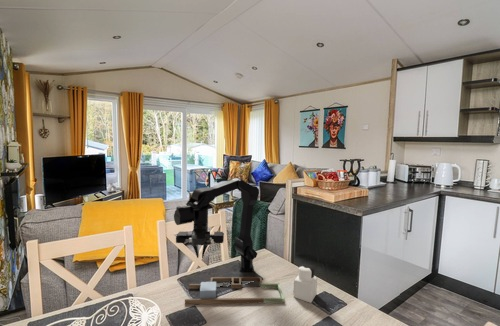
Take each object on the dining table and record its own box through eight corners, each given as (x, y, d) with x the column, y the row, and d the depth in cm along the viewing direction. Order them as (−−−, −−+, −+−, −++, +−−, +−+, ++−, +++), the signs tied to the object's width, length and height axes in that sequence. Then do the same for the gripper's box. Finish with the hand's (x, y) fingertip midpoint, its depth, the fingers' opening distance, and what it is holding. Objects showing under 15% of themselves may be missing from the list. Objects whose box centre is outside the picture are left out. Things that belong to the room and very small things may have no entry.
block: (200, 291, 103) (201, 282, 103) (216, 291, 104) (216, 281, 103) (199, 301, 97) (199, 290, 97) (215, 300, 98) (216, 290, 98)
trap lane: (191, 281, 110) (191, 277, 110) (277, 280, 113) (277, 276, 113) (184, 304, 95) (184, 300, 95) (284, 302, 97) (284, 298, 97)
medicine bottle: (299, 288, 107) (300, 260, 106) (316, 294, 103) (318, 265, 102) (293, 297, 101) (294, 267, 100) (311, 303, 97) (312, 273, 96)
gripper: (172, 226, 96) (172, 267, 97) (223, 227, 97) (222, 267, 99) (178, 217, 107) (178, 254, 109) (224, 218, 108) (223, 254, 110)
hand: (200, 257), depth 106 cm, fingers closed
